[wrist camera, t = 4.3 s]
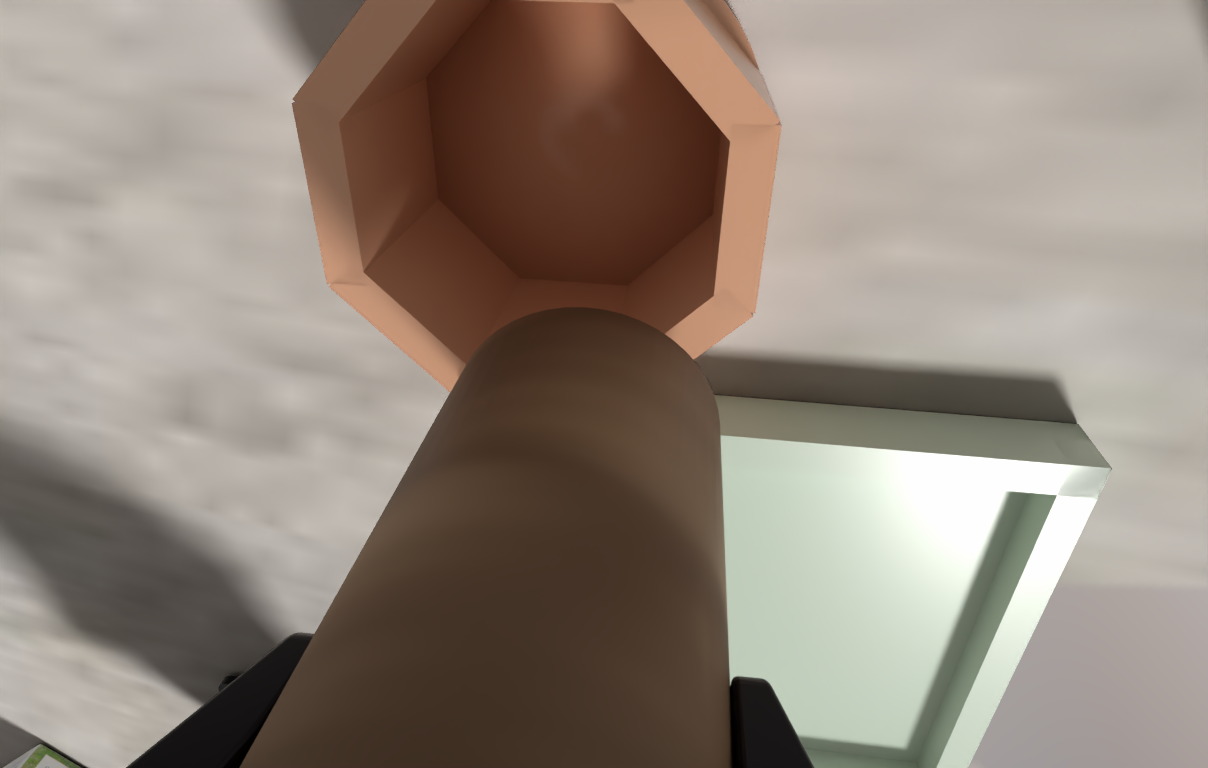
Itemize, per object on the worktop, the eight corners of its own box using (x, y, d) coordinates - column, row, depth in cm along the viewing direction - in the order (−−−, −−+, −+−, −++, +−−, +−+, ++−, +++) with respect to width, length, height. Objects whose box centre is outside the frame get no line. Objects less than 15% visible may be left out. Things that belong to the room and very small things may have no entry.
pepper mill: (467, 519, 15) (109, 1396, 6) (441, 299, 12) (-250, 1240, 3) (709, 539, 14) (722, 1524, 5) (732, 314, 12) (828, 1450, 3)
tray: (577, 717, 30) (570, 764, 28) (577, 384, 22) (566, 422, 20) (932, 760, 29) (946, 812, 27) (1078, 424, 20) (1112, 468, 19)
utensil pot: (420, 296, 21) (336, 400, 16) (373, -82, 16) (236, -89, 11) (741, 318, 20) (753, 436, 15) (793, -73, 15) (830, -77, 10)
